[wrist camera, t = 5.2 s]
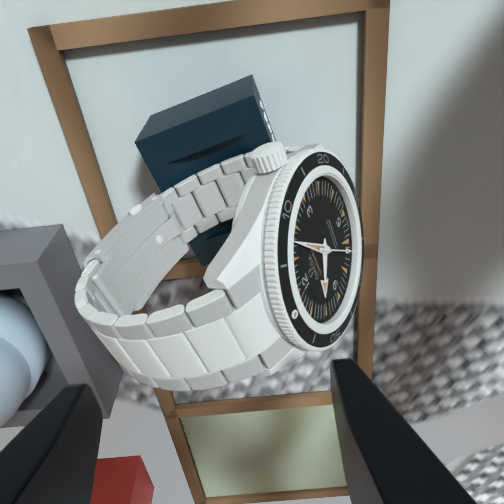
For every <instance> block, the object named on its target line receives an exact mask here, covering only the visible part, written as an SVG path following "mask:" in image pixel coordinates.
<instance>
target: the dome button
mask: <svg viewBox="0 0 504 504" xmlns="http://www.w3.org/2000/svg"><path fill="white" fill-rule="evenodd" d="M51 353H52V351H51V349H50V347H49V345H48V343H47V341H46V339H45V337H44V335H43V333H42V331H41V329H40V327H39V325H38V323H37V321H36V319H35V317H34V315H33V313H32V312H31V310H30V308H29V307H28V306H26V305H25V304H23V303H22V302H20V301H18V300H16V299H14V298H12V297H10V296H8V295H5V294H2V293H0V427H1V426H2V425H4V424H5V423H6V422H7V421H8V420H9V419H10V418H11V417H12V416H13V415H14V414H15V412H16V411H17V410H18V408H19V407H20V405H21V404H22V402H23V400H24V399H25V398H27V397H28V396H29V395H30V394H31V393H32V391H33V390H34V388H35V386H36V384H37V382H38V380H39V378H40V376H41V374H42V372H43V370H44V368H45V366H46V364H47V362H48V360H49V358H50V355H51Z"/></svg>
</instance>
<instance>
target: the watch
mask: <svg viewBox="0 0 504 504" xmlns="http://www.w3.org/2000/svg"><path fill="white" fill-rule="evenodd" d="M135 144H136V146H137V148H138V149H139V151H140V153H141V155H142V157H143V159H144V161H145V162H146V164H147V166H148V168H149V170H150V172H151V173H152V175H153V177H154V179H155V181H156V183H157V185H158V186H159V188H160V190H161V192H162V194H160V195H155V193H153V194H152V195H150V196H149V197H148V198H147V199H145V200H144V201H143V202H142V203H140V204H136V205H135V206H133V207H132V208H131V209H130V210H129V214H128V215H127V216H125V217H124V218H123V219H122V220H121V221H120V222H119V223H118V224H117V225H116V226H115V227H114V228H113V229H112V230H111V231H110V232H109V233H108V234H107V235H106V236H105V237H104V238H103V239H102V240H101V241H100V242H99V243H98V245H97V246H96V247H95V248H94V249H93V250H92V251H91V253H90V254H89V255H88V256H87V257H86V259H85V260H84V263H83V264H84V267H85V269H84V271H83V272H82V274H81V278H80V279H79V280H78V283H77V285H76V288H75V292H76V293H75V305H76V308H77V309H78V312H79V313H80V315H81V316H82V317H83V318H84V320H85V321H86V322H87V324H88V325H89V326H90V328H91V329H92V330H93V331H94V333H95V334H96V335H97V337H98V338H99V339H100V340H101V342H102V343H103V344H104V345H105V347H106V348H107V349H108V351H109V352H110V353H111V354H112V356H113V357H114V358H115V359H116V360H117V362H118V363H119V364H120V366H121V367H122V368H123V369H124V370H125V371H126V372H127V373H128V374H129V375H130V376H132V377H135V379H136V380H138V381H140V382H141V383H143V384H146V385H148V386H151V387H155V388H158V387H160V388H161V389H165V390H172V391H189V390H190V389H192V390H203V389H209V388H215V387H219V386H223V385H225V384H226V383H227V380H228V382H230V383H233V382H236V381H240V380H243V379H246V378H249V377H252V376H254V375H256V374H258V375H263V376H270V375H272V374H274V373H276V372H277V371H279V370H281V369H283V368H284V367H286V366H288V365H289V364H291V363H292V362H294V361H295V360H297V359H298V358H300V357H301V356H302V355H303V354H305V353H306V352H307V351H316V352H317V351H318V352H319V351H324V350H327V349H329V348H331V346H333V345H335V343H337V342H338V341H339V339H340V338H341V337H342V336H343V334H344V333H345V330H346V329H347V327H348V325H349V323H350V321H351V319H352V316H353V314H354V311H355V308H356V305H357V301H358V297H359V292H360V288H361V282H362V275H363V265H364V233H363V222H362V215H361V210H360V205H359V200H358V196H357V193H356V190H355V187H354V184H353V181H352V179H351V177H350V174H349V173H348V170H347V169H346V167H345V165H343V162H341V160H340V159H339V158H338V157H337V156H336V155H335V154H334V153H333V152H331V151H329V150H326V149H325V148H324V146H322V145H320V144H314V145H307V146H292V147H290V146H283V144H282V143H281V142H278V141H276V139H275V137H274V134H273V131H272V128H271V126H270V123H269V120H268V117H267V114H266V112H265V109H264V106H263V103H262V101H261V98H260V95H259V92H258V89H257V87H256V84H255V81H254V78H253V76H252V75H250V76H247V77H245V78H243V79H240V80H238V81H235V82H233V83H230V84H228V85H225V86H223V87H220V88H218V89H215V90H213V91H210V92H208V93H205V94H203V95H201V96H198V97H196V98H193V99H191V100H188V101H186V102H183V103H181V104H178V105H176V106H173V107H171V108H168V109H166V110H164V111H161V112H159V113H156V114H154V115H151V116H150V118H149V119H148V121H147V123H146V124H145V126H144V128H143V129H142V131H141V132H140V134H139V136H138V137H137V139H136V141H135ZM188 242H189V244H190V245H191V247H192V249H193V251H194V253H195V255H196V256H197V258H198V260H199V262H200V264H201V266H205V265H208V264H210V265H209V266H208V268H207V270H206V272H205V275H204V277H203V280H204V281H205V283H206V285H207V287H208V288H214V289H216V290H213V291H211V292H209V293H207V294H205V295H203V296H201V297H198V298H196V299H194V300H191V301H190V302H189V303H188V304H187V306H186V309H185V307H184V306H183V305H181V304H179V305H176V306H173V307H170V308H167V309H163V310H160V311H156V312H153V313H152V314H151V315H150V316H149V317H148V315H147V314H136V315H131V314H132V312H133V311H138V310H140V309H142V308H143V306H144V305H145V303H146V302H147V300H148V298H149V297H150V295H151V294H152V293H153V291H154V290H155V288H156V287H157V285H158V284H159V283H160V281H161V280H162V279H163V278H164V276H165V275H166V274H167V273H168V272H169V271H170V270H171V268H172V267H173V266H174V265H175V264H176V263H177V262H178V261H179V260H180V259H181V258H182V257H183V256H184V255H185V254H186V253H187V252H188V251H189V247H188V245H187V243H188Z"/></svg>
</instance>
